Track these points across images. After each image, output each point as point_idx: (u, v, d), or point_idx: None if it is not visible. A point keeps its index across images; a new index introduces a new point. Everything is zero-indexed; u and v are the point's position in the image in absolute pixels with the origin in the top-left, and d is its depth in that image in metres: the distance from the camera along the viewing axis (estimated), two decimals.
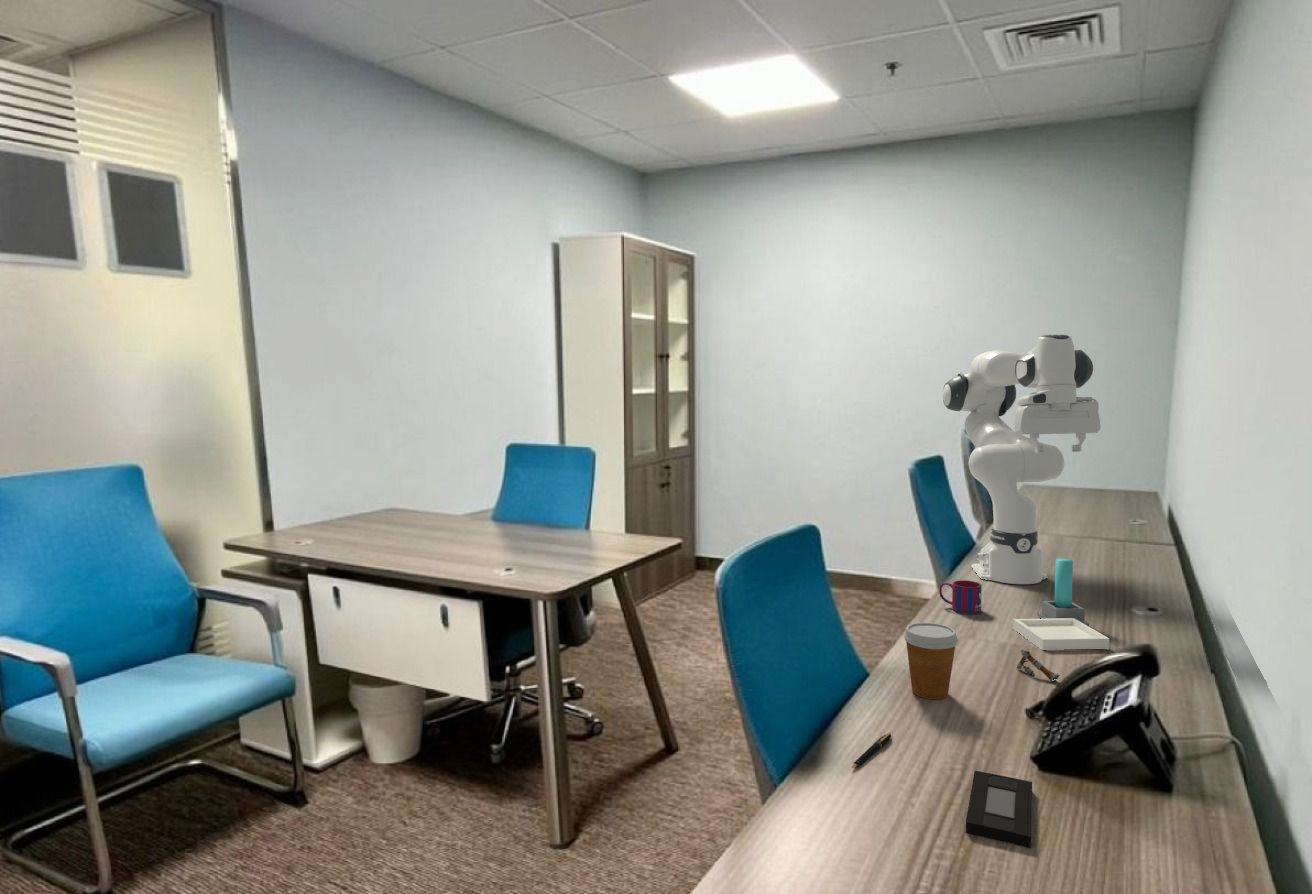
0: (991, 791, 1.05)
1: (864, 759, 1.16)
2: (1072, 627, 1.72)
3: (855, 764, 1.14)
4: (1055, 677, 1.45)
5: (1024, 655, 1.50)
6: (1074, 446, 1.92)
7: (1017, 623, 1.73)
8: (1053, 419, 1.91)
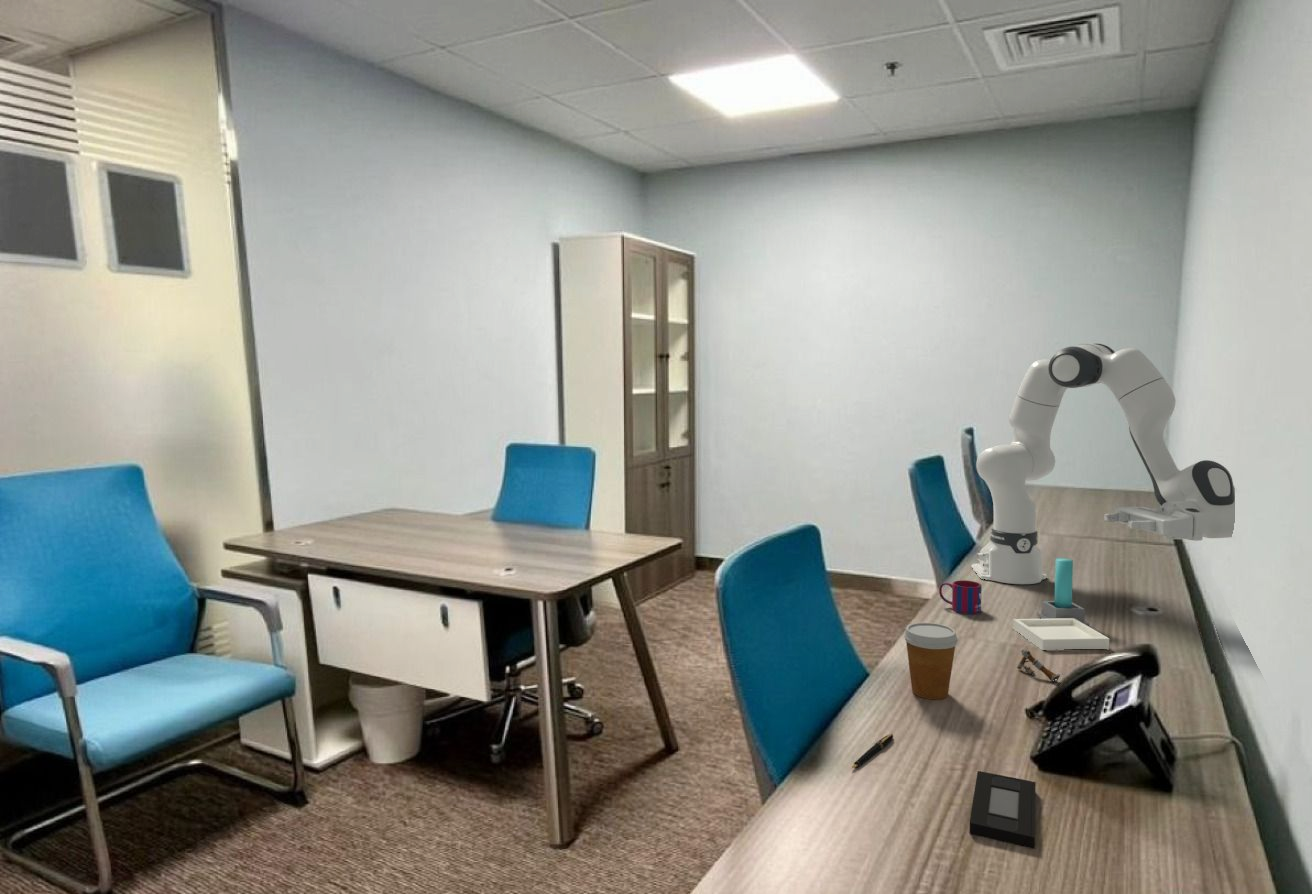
0: (994, 791, 1.05)
1: (864, 759, 1.16)
2: (1072, 627, 1.72)
3: (855, 764, 1.14)
4: (1056, 677, 1.45)
5: (1025, 655, 1.49)
6: (1113, 519, 1.82)
7: (1017, 623, 1.73)
8: None
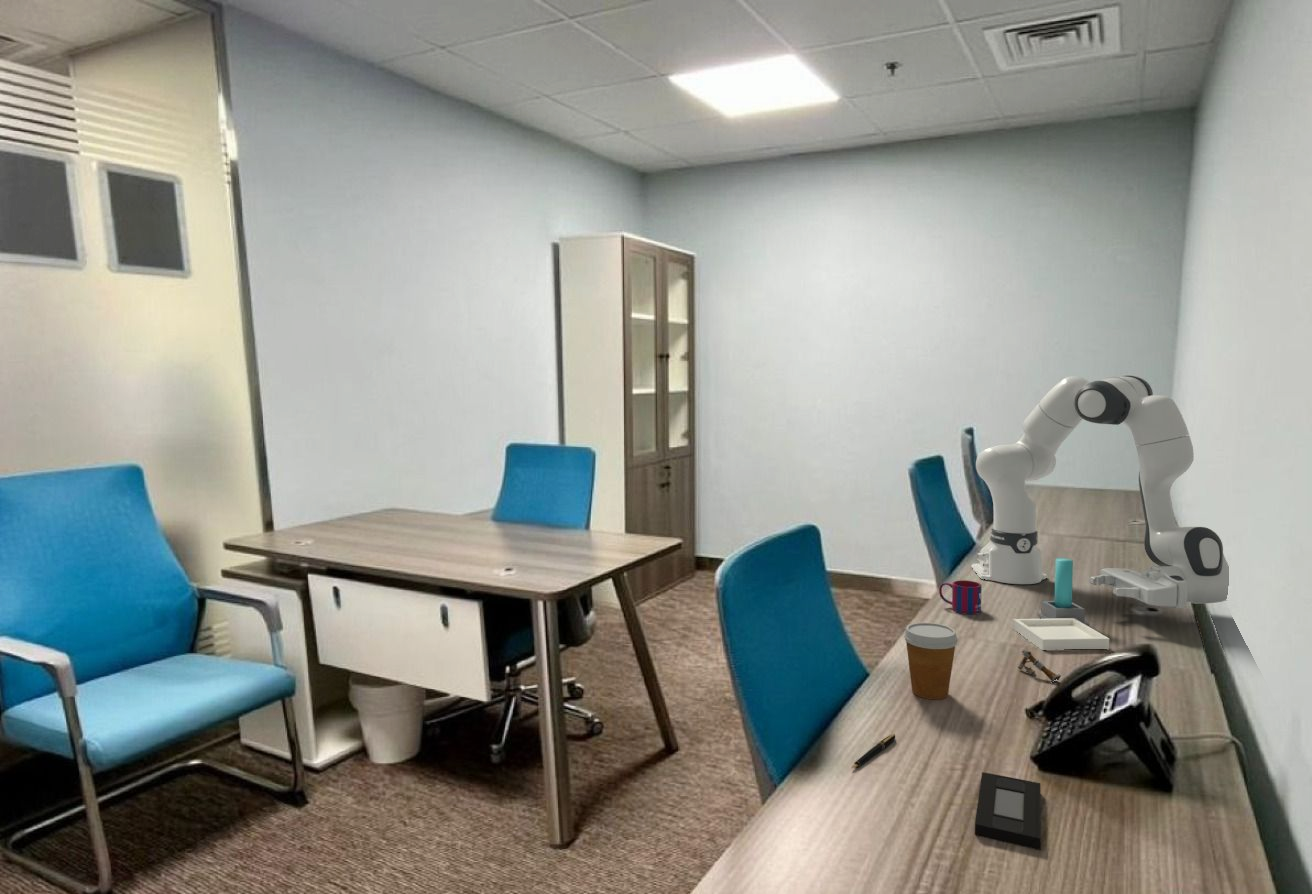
0: (999, 793, 1.04)
1: (865, 760, 1.16)
2: (1072, 627, 1.72)
3: (855, 764, 1.14)
4: (1056, 678, 1.45)
5: (1025, 655, 1.49)
6: (1098, 582, 1.83)
7: (1017, 623, 1.73)
8: None
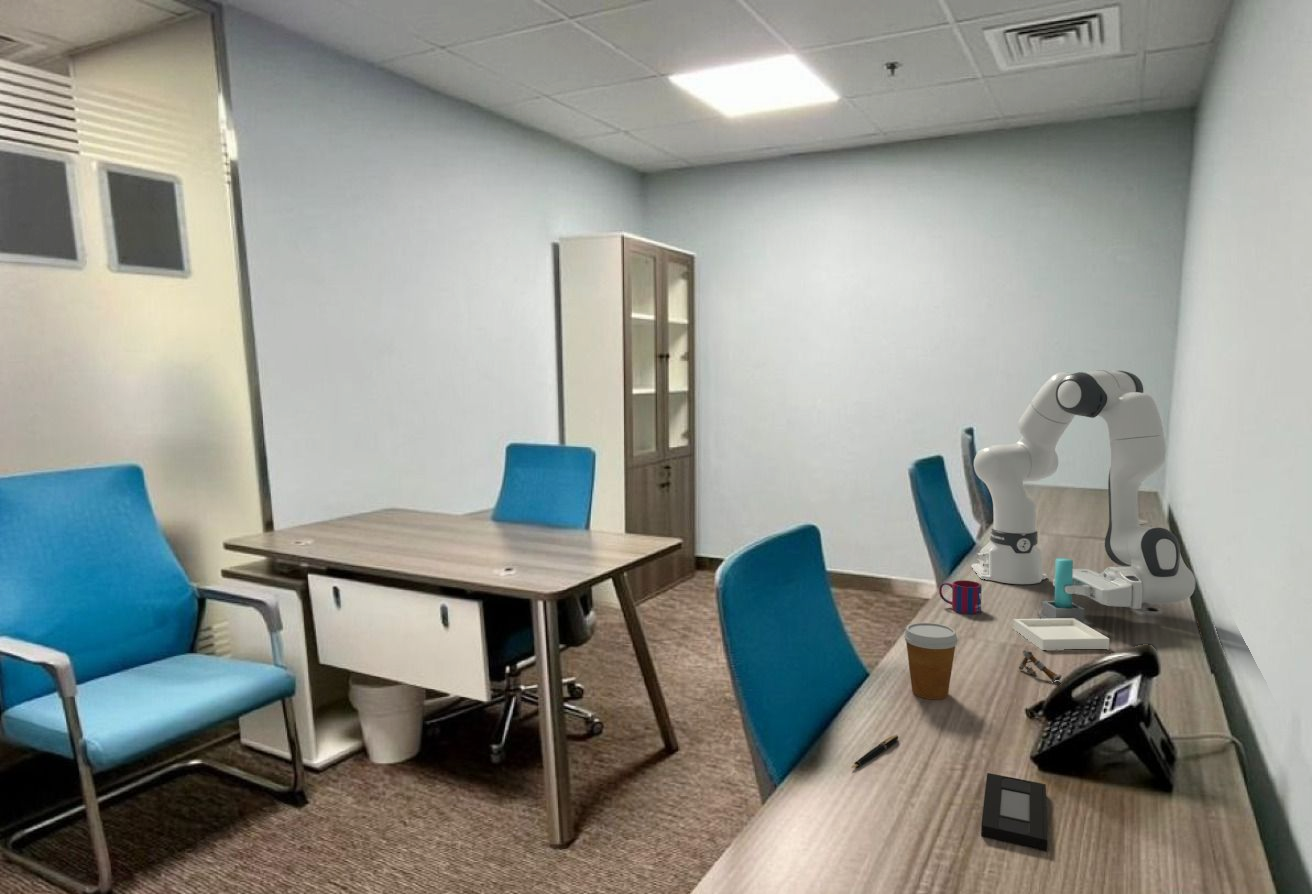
0: (1005, 794, 1.04)
1: (865, 760, 1.16)
2: (1072, 627, 1.72)
3: (855, 764, 1.14)
4: (1057, 678, 1.45)
5: (1026, 656, 1.49)
6: None
7: (1017, 623, 1.73)
8: None
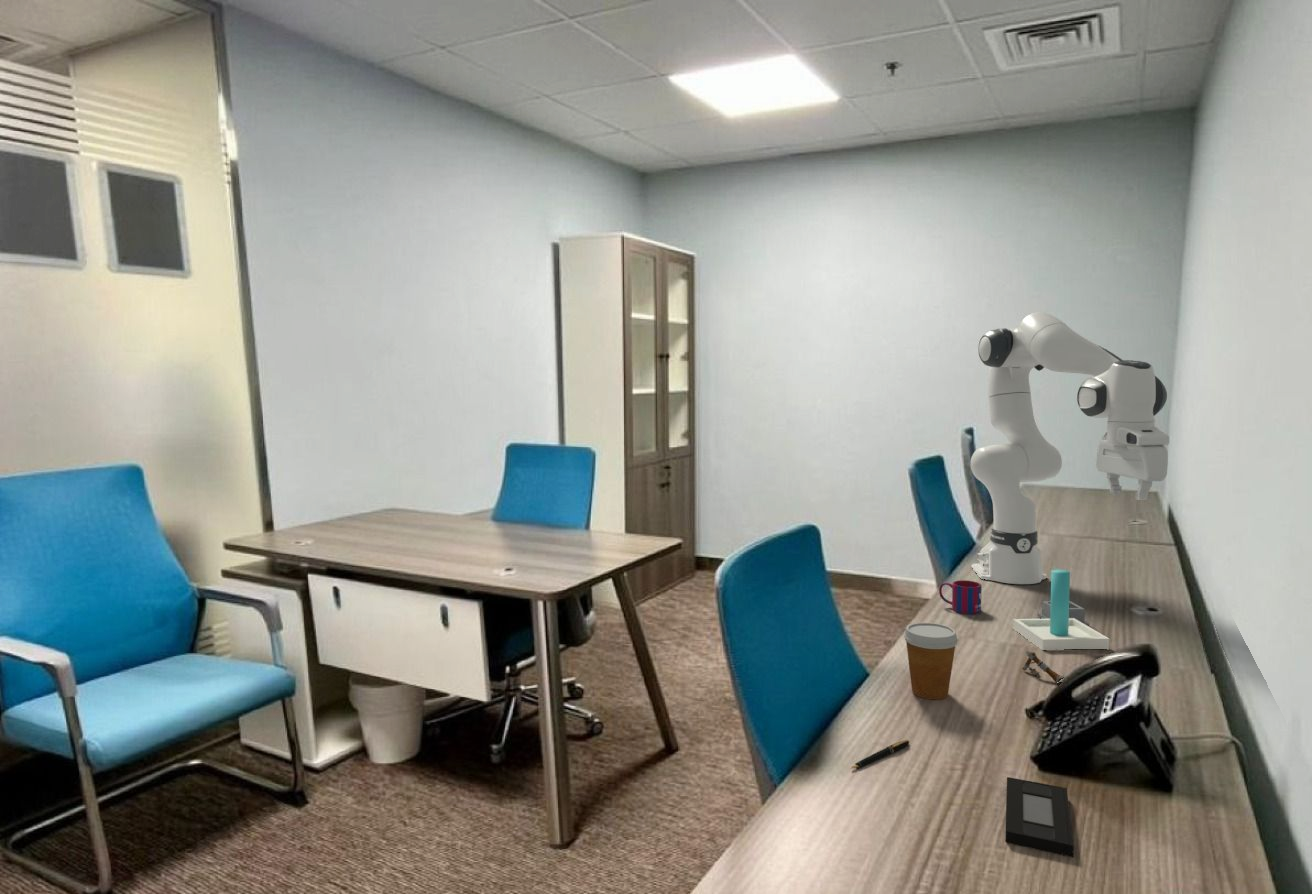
0: (1026, 798, 1.03)
1: (868, 761, 1.15)
2: (1072, 627, 1.72)
3: (856, 765, 1.14)
4: None
5: (1030, 656, 1.49)
6: (1119, 488, 1.72)
7: (1017, 623, 1.73)
8: None
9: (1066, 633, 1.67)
